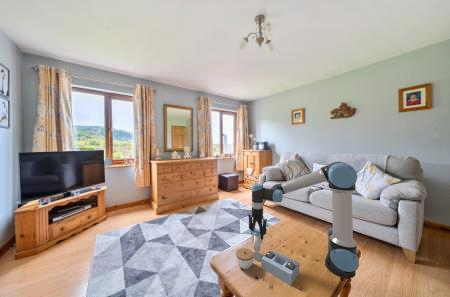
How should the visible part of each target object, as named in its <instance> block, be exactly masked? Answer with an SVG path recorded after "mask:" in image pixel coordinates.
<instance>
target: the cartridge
mask: <svg viewBox="0 0 450 297" xmlns="http://www.w3.org/2000/svg"><path fill="white" fill-rule="evenodd" d="M259 234H260V230H255V231H254V241H253V250H254V252H255V251H257V252H260V251H261V245H262V244H261V245H259Z"/></svg>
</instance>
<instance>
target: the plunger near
mask: <svg viewBox="0 0 450 297" xmlns="http://www.w3.org/2000/svg"><path fill="white" fill-rule="evenodd" d="M288 269H290V270H292V271H294V263H293V262H288Z"/></svg>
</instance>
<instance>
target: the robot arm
mask: <svg viewBox="0 0 450 297" xmlns="http://www.w3.org/2000/svg"><path fill="white" fill-rule="evenodd" d="M357 180H358V173H357V171H356V170H355V168H354V167H353V166H351V165H350V164H348V163H346V162H344V161H333V162H331V163H329V164H327V165H325V166H322V167H320V168H319V169H318V170H315V171H313V172H310V173H307V174H306V173H305V175H301V176H298V177H294V178H292V179H289V180H286V181H283V182H280V183H276V184H273V186H272V187H271V188H266V187H264V184H262V183H253V184H252V185H251V213H249V214H248V215H247V216H248V229H249V230H250V231H251V241H252V242H254V231H256V229H255V228H256V225H257V224H258V231H260V234H259V245H262V244H263V240H264V236H265V235H266V234H267V222H268V219H267V218H265V217H264V201H267V202H268V201H269V202H274V203H282V202H283V198H284V195H286V194H289V193H292V192H295V191H296V192H297V191H298V190H302V189H305V188H309V187H311V186H314V185H318V184H321V183H327V184H328V189H330V191H331V206H332V209H331V210H332V211H331V212H332V213H331V214H332V215H331V216H332V218H331V219H332V227H330V228H328V230H327V231H328V232H327V239H328V240H327V242H328V243H327V251H328V252H327V254H326V255H325V259H324V265H325V268H326V270H328V271H329V272H331V273H332V274H333V275H336V276H338V277H341V278H345V279H351V278H352V279H353V278H355V277H356V272H357V270H358V269H359V266H360V259H359V257H358V247H357V246H358V243H357V242H356V240H355V239H354V234H353V233H354V232H353V230H354V228H353V193H354V192H355V191H356V183H357ZM256 223H257V224H256Z"/></svg>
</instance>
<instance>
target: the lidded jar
mask: <svg viewBox="0 0 450 297" xmlns="http://www.w3.org/2000/svg"><path fill="white" fill-rule="evenodd" d="M253 253H254V252H253V251H252V250H251V249H249V248H246V247H240V248H238V249H237V250H236V251H235V259H236V260H235V261H236V262H237V266H239V267H240V269H242V270H248V269H249V268H250V267H251V266H252V264H253V262H254V258H253Z"/></svg>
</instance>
